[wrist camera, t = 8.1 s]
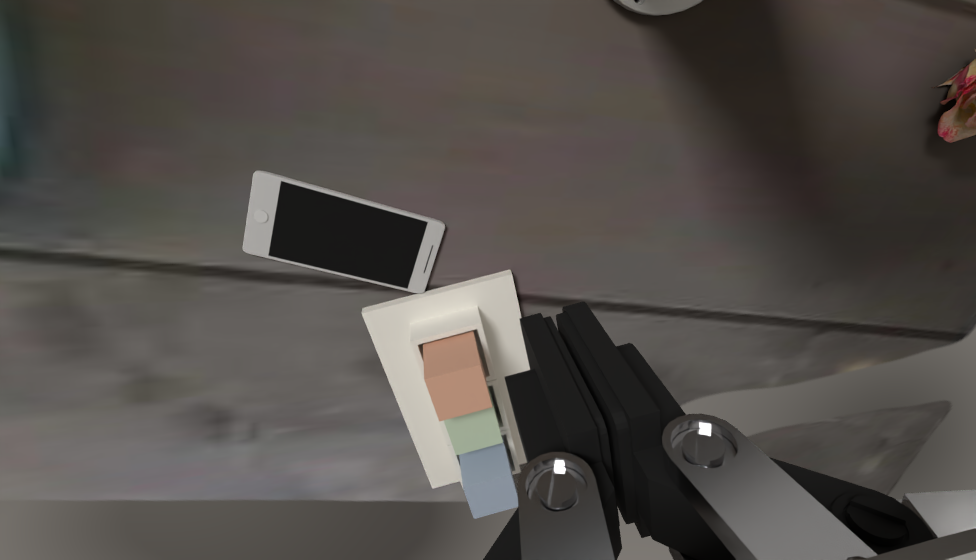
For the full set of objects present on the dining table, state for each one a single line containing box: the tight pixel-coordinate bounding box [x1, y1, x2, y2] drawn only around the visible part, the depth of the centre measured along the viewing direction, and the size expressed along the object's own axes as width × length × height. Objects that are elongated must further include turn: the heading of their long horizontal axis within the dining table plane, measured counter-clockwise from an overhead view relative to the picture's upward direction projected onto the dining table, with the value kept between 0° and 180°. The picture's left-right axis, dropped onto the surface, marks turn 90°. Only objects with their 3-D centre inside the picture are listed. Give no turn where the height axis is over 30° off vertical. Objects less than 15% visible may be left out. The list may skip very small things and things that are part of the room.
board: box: [362, 270, 530, 489], centre depth 47 cm, size 14×24×4 cm, turn 12°
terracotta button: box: [423, 331, 492, 422], centre depth 40 cm, size 5×5×5 cm
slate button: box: [459, 437, 518, 519], centre depth 46 cm, size 5×5×5 cm
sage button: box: [444, 386, 503, 455], centre depth 45 cm, size 5×5×5 cm
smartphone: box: [243, 171, 445, 294], centre depth 40 cm, size 7×16×1 cm, turn 71°
